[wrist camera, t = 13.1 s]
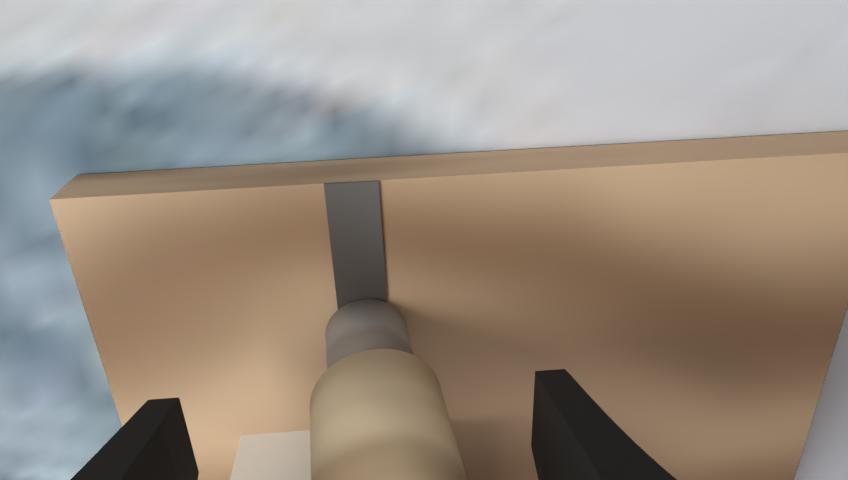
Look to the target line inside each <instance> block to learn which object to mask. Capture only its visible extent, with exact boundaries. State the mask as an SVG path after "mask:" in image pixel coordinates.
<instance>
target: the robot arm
mask: <svg viewBox="0 0 848 480" xmlns="http://www.w3.org/2000/svg"><path fill="white" fill-rule="evenodd" d="M531 448H532V453H533V457H534V462H535V466H536V471H537V475H538V480H677V479H676V478H674V477H673V476H672V475H671V474H670V473H668V472H667V471H666V470H665V469H664V468H663V467H662V466H660V465H659V464H658V463H657V462H656V461H655V460H654V459H653V458H651V457H650V456H649V455H648V454H647V453H646V452H645V451H644V450H643V449H642V448H641V447H639V446H638V445H637V444H636V443H635V442H634V441H633V440H632V439H631V438H630V437H629V436H628V435H627V434H626V433H625V432H624V431H623V430H622V429H621V428H620V427H619V426H618V425H617V424H616V423H615V422H614V421H613V420H612V419H611V418H610V417H609V416H608V415H607V414H606V413H605V412H604V411H603V410H602V409H601V408H600V406H599V405H598V404H597V403H596V402H595V401H594V400H593V399H592V398H591V397H590V396H589V395H588V394H587V392H586V391H585V390H584V389H583V388H582V387H581V386H580V385H579V384H578V382H577V381H576V380H575V379H574V378H573V377H572V376H571V375H570V373H568V372H567V371H566V370H565V369H557V370H543V371H535V383H534V401H533V420H532V438H531ZM198 475H199V471H198V467H197V463H196V459H195V456H194V452H193V448H192V444H191V440H190V437H189V433H188V429H187V425H186V421H185V418H184V414H183V410H182V406H181V403H180V399H179V397H178V398H164V399H151V400H148V401H147V402H146V403H145V404H144V405H143V406H142V407H141V408H140V409H139V410H138V411H137V412H136V413H135V414H134V415H133V416H132V417H131V418H130V419H129V420H128V421H127V422H126V423H125V424H124V425H123V426H122V427H121V428H120V429H119V431H118V432H117V433H116V434H115V435H114V436H113V437H112V438H111V439H110V440H109V441H108V442H107V443H106V444H105V445H104V446H103V447H102V448H101V449H100V450H99V451H98V453H97V454H96V455H95V456H94V457H93V458H92V459H91V460H90V461H89V462H88V463H87V464H86V465H85V466H84V467H83V468H82V469H81V470H80V471H79V472H78V473H77V474H76V475H75V476H74V477H73V478H72V479H71V480H198Z"/></svg>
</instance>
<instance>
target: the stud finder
mask: <svg viewBox="0 0 848 480" xmlns="http://www.w3.org/2000/svg"><path fill="white" fill-rule="evenodd" d="M230 480H311V453H310V430H302V431H289V432H276V433H263V434H250V435H241V437H240V441H239V445H238V449H237V453H236V457H235V461H234V465H233V469H232V473H231V477H230Z"/></svg>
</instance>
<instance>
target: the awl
mask: <svg viewBox="0 0 848 480" xmlns="http://www.w3.org/2000/svg"><path fill="white" fill-rule="evenodd" d="M325 338H326V357H327V370H326V371H325V372H324V373H323V375H322V376H321V377H320V378H319V380H318V381H317V383H316V384H315V386H314V389H313V391H312V394H311V398H310V453H311V480H467V477H466V474H465V470H464V467H463V463H462V460H461V456H460V453H459V449H458V446H457V442H456V439H455V435H454V432H453V428H452V425H451V421H450V418H449V414H448V411H447V407H446V404H445V400H444V397H443V393H442V390H441V386H440V383H439V380H438V378H437V376H436V374H435V372H434V371H433V370H432V368H431V367H430V366H429V365H428V364H427V363H425V362H424V361H423V360H421V359H420V358H418V357H416V356H415V355H413V351H412V347H411V343H410V339H409V335H408V331H407V326H406V323H405V320H404V318H403V316H402V314H401V313H400V312H399V311H398V309H396V308H395V307H394V306H392V305H391V304H389V303H387V302H384V301H381V300H376V299H362V300H357V301H353V302H351V303H348V304H346V305H345V306H343V307H341V308H340V309H339V310H337V311H336V312H335V313H334V314H333V316H332V317H331V318H330V320H329V322H328V324H327V327H326V332H325Z"/></svg>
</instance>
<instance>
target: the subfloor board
mask: <svg viewBox="0 0 848 480" xmlns="http://www.w3.org/2000/svg"><path fill="white" fill-rule="evenodd" d="M49 201H50V204H51V207H52V210H53V213H54V216H55V219H56V222H57V225H58V228H59V232H60V235H61V238H62V241H63V244H64V247H65V250H66V253H67V256H68V259H69V262H70V266H71V269H72V272H73V275H74V278H75V281H76V284H77V287H78V290H79V293H80V297H81V300H82V303H83V306H84V309H85V312H86V315H87V318H88V321H89V324H90V327H91V331H92V334H93V337H94V340H95V343H96V346H97V349H98V352H99V355H100V358H101V362H102V365H103V368H104V371H105V374H106V377H107V380H108V383H109V386H110V389H111V392H112V396H113V399H114V402H115V405H116V408H117V411H118V414H119V417H120V420H121V423H122V426H123V425H124V424H125V423H126V422H127V421H128V420H129V419H130V418H131V417H132V416H133V415H134V414H135V413H136V412H137V411H138V410H139V409H140V408H141V407H142V406H143V405H144V404H145V403H146V402H147V401H148V400H151V399H164V398H178V397H179V399H180V403H181V406H182V410H183V414H184V418H185V421H186V425H187V429H188V433H189V437H190V440H191V444H192V448H193V452H194V456H195V459H196V463H197V467H198V471H199V475H198V480H230V477H231V473H232V469H233V465H234V461H235V457H236V453H237V449H238V445H239V441H240V437H241V435H250V434H263V433H276V432H289V431H302V430H310V398H311V394H312V391H313V389H314V386H315V384H316V383H317V381H318V380H319V378H320V377H321V376H322V375H323V373H324V372H325V371H326V370H327V357H326V338H325V332H326V327H327V324H328V322H329V320H330V318H331V317H332V316H333V314H334V313H335V312H336V311H337V310H339V309H340V308H341V307H343V306H345V305H346V304H348V303H351V302H353V301H357V300H362V299H376V300H381V301H384V302H387V303H389V304H391V305H392V306H394V307H395V308H396V309H398V311H399V312H400V313H401V314H402V316H403V318H404V320H405V323H406V326H407V331H408V335H409V339H410V343H411V347H412V351H413V355H415V356H416V357H418V358H420V359H421V360H423V361H424V362H425V363H427V364H428V365H429V366H430V367H431V368H432V370H433V371H434V372H435V374H436V376H437V378H438V380H439V383H440V386H441V390H442V393H443V397H444V400H445V404H446V407H447V411H448V414H449V418H450V421H451V425H452V428H453V432H454V435H455V439H456V442H457V446H458V449H459V453H460V456H461V460H462V463H463V467H464V470H465V474H466V477H467V480H538V475H537V471H536V466H535V462H534V457H533V453H532V448H531V438H532V420H533V401H534V383H535V371H543V370H557V369H565V370H566V371H567V372H568V373H570V375H571V376H572V377H573V378H574V379H575V380H576V381H577V382H578V384H579V385H580V386H581V387H582V388H583V389H584V390H585V391H586V392H587V394H588V395H589V396H590V397H591V398H592V399H593V400H594V401H595V402H596V403H597V404H598V405H599V406H600V408H601V409H602V410H603V411H604V412H605V413H606V414H607V415H608V416H609V417H610V418H611V419H612V420H613V421H614V422H615V423H616V424H617V425H618V426H619V427H620V428H621V429H622V430H623V431H624V432H625V433H626V434H627V435H628V436H629V437H630V438H631V439H632V440H633V441H634V442H635V443H636V444H637V445H638V446H639V447H641V448H642V449H643V450H644V451H645V452H646V453H647V454H648V455H649V456H650V457H651V458H653V459H654V460H655V461H656V462H657V463H658V464H659V465H660V466H662V467H663V468H664V469H665V470H666V471H667V472H668V473H670V474H671V475H672V476H673V477H674V478H676V479H677V480H794V477H795V474H796V471H797V467H798V464H799V461H800V458H801V454H802V451H803V448H804V445H805V442H806V438H807V435H808V432H809V429H810V425H811V422H812V419H813V416H814V413H815V409H816V406H817V403H818V400H819V396H820V393H821V390H822V387H823V384H824V380H825V377H826V374H827V371H828V367H829V364H830V361H831V358H832V355H833V351H834V348H835V345H836V342H837V338H838V335H839V332H840V329H841V325H842V322H843V319H844V316H845V313H846V309H847V306H848V131H835V132H817V133H800V134H782V135H764V136H747V137H729V138H712V139H694V140H677V141H659V142H642V143H624V144H607V145H589V146H571V147H554V148H536V149H519V150H501V151H484V152H466V153H449V154H431V155H413V156H396V157H378V158H361V159H343V160H326V161H308V162H291V163H273V164H256V165H238V166H220V167H203V168H185V169H168V170H150V171H133V172H115V173H98V174H80V175H77V176H75V177H74V178H73V179H72V180H71V181H70V182H69V183H67V184H66V185H65V186H64V187H63V188H62V189H61V190H59V191H58V192H57V193H56V194H55V195H54V196H53V197H51V198H50V199H49Z"/></svg>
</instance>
